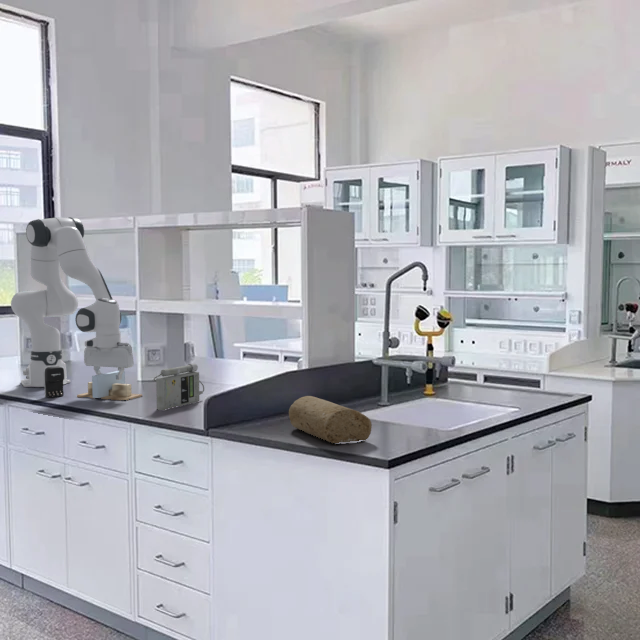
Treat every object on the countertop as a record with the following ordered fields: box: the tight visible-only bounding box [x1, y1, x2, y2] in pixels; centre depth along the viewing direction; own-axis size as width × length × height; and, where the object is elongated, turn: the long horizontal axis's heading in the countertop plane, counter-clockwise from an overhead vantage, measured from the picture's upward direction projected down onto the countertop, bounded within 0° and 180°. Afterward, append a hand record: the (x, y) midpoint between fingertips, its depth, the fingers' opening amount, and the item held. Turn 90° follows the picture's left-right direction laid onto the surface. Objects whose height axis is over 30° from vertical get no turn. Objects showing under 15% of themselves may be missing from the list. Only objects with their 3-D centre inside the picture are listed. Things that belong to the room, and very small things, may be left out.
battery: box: [43, 366, 65, 398], centre depth 279 cm, size 7×4×11 cm, turn 132°
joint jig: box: [76, 381, 143, 401], centre depth 279 cm, size 22×10×5 cm, turn 68°
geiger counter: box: [153, 362, 205, 411], centre depth 262 cm, size 14×6×25 cm
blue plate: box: [91, 370, 126, 399], centre depth 278 cm, size 16×2×8 cm, turn 158°
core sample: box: [288, 395, 373, 444], centre depth 213 cm, size 14×26×10 cm, turn 28°
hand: (109, 378), depth 278 cm, fingers open, 7 cm apart
